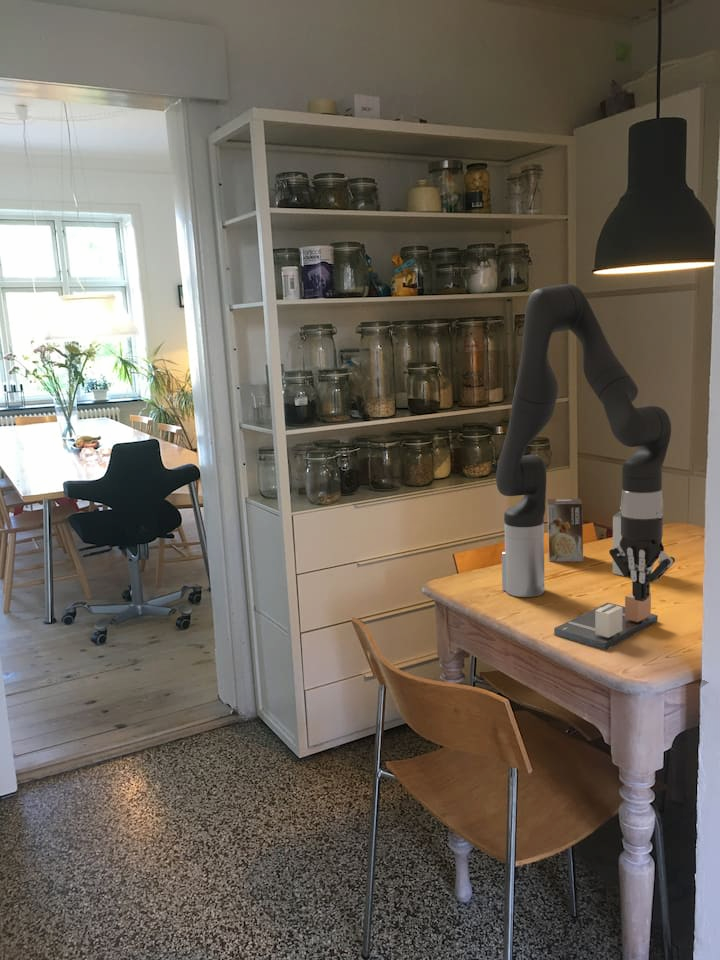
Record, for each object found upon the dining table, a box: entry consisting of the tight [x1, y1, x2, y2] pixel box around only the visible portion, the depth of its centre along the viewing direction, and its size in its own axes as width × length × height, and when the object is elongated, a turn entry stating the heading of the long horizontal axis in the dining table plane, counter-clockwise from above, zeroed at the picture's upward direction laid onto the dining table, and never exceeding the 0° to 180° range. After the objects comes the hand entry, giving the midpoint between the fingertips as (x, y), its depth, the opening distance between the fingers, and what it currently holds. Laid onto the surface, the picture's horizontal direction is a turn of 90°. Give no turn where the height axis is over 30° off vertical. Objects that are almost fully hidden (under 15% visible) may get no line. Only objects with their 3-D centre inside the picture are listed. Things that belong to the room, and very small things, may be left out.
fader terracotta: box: [624, 592, 652, 622], centre depth 168 cm, size 3×5×5 cm, turn 131°
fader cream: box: [595, 603, 622, 638], centre depth 161 cm, size 3×5×5 cm, turn 131°
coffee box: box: [547, 498, 584, 563], centre depth 215 cm, size 9×6×16 cm
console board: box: [553, 602, 659, 651], centre depth 168 cm, size 12×20×2 cm, turn 131°
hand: (641, 599), depth 154 cm, fingers closed
